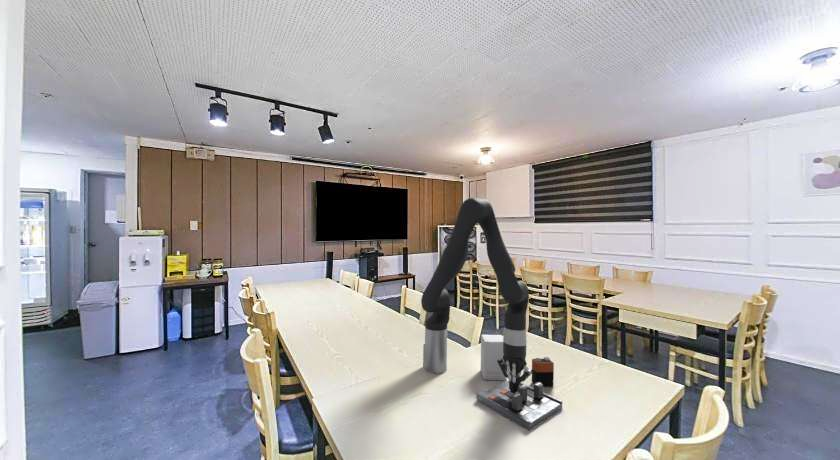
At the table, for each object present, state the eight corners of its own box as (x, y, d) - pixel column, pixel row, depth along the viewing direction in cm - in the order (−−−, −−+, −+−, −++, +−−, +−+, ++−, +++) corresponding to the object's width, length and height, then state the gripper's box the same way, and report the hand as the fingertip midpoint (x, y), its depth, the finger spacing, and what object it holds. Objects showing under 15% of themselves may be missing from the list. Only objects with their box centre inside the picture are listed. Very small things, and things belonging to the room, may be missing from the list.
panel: (476, 400, 107) (476, 393, 107) (510, 384, 119) (510, 377, 119) (528, 431, 91) (528, 422, 92) (562, 409, 103) (562, 401, 103)
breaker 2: (517, 399, 104) (517, 386, 104) (521, 396, 106) (522, 384, 106) (522, 401, 103) (522, 388, 103) (527, 399, 104) (527, 386, 104)
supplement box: (507, 381, 122) (507, 342, 122) (483, 380, 122) (484, 341, 122) (502, 370, 131) (502, 334, 131) (480, 370, 131) (480, 333, 131)
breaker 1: (511, 408, 99) (511, 394, 99) (516, 405, 100) (516, 392, 100) (517, 411, 97) (517, 397, 97) (522, 408, 99) (522, 394, 99)
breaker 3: (533, 396, 106) (533, 383, 106) (537, 393, 108) (537, 381, 108) (538, 398, 105) (539, 386, 105) (543, 396, 106) (543, 383, 106)
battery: (553, 387, 118) (554, 360, 118) (536, 387, 117) (536, 360, 117) (548, 381, 122) (548, 355, 122) (531, 382, 122) (531, 356, 122)
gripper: (491, 337, 110) (491, 387, 110) (525, 349, 99) (524, 404, 99) (505, 333, 114) (504, 381, 114) (538, 344, 104) (537, 397, 104)
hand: (513, 392), depth 107 cm, fingers closed
